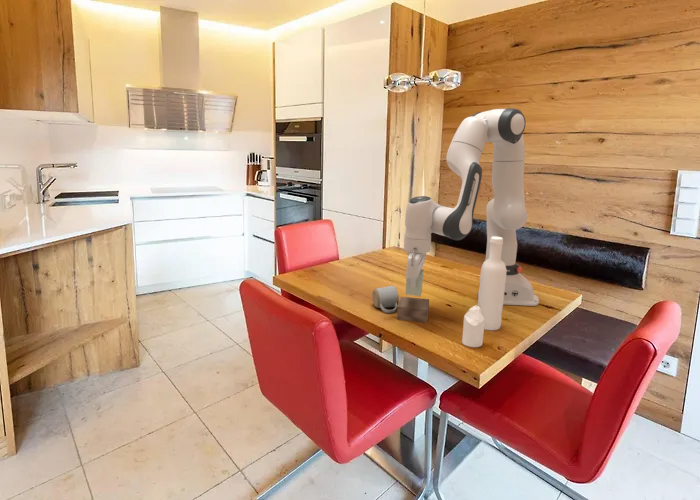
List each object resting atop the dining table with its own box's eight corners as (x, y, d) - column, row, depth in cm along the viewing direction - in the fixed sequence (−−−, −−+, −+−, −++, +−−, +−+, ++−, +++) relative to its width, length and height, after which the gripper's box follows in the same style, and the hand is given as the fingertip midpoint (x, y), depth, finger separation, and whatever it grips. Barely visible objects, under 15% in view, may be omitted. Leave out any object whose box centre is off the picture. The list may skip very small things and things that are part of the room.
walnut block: (428, 312, 153) (429, 299, 152) (426, 323, 143) (427, 309, 142) (400, 309, 155) (401, 296, 154) (397, 320, 146) (397, 306, 144)
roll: (465, 308, 124) (464, 301, 129) (462, 346, 127) (461, 338, 132) (486, 310, 123) (485, 303, 128) (483, 348, 126) (481, 340, 131)
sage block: (421, 291, 149) (423, 269, 147) (420, 296, 144) (421, 273, 142) (407, 289, 150) (409, 268, 148) (405, 294, 146) (406, 272, 144)
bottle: (479, 330, 138) (488, 240, 131) (472, 320, 145) (480, 234, 138) (504, 331, 138) (514, 240, 131) (496, 321, 145) (505, 235, 138)
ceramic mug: (370, 304, 159) (371, 284, 157) (391, 302, 161) (392, 282, 159) (380, 315, 149) (381, 294, 147) (402, 313, 152) (403, 292, 150)
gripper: (422, 253, 133) (420, 295, 136) (429, 239, 152) (427, 277, 155) (402, 251, 134) (400, 293, 138) (411, 238, 153) (409, 275, 157)
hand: (414, 284), depth 146 cm, fingers closed on sage block, 5 cm apart
